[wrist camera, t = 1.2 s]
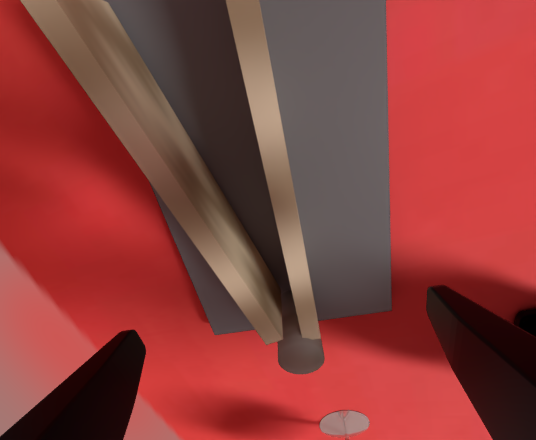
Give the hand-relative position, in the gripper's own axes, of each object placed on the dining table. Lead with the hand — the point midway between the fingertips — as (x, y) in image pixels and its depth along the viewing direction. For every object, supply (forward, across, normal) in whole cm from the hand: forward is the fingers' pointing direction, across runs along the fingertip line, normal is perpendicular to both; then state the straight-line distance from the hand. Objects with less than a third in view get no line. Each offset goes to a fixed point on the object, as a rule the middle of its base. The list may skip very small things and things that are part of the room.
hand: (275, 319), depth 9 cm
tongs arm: (+8, +3, -2) cm, 9 cm away
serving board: (+10, 0, -1) cm, 10 cm away
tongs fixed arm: (+9, 0, -1) cm, 9 cm away
